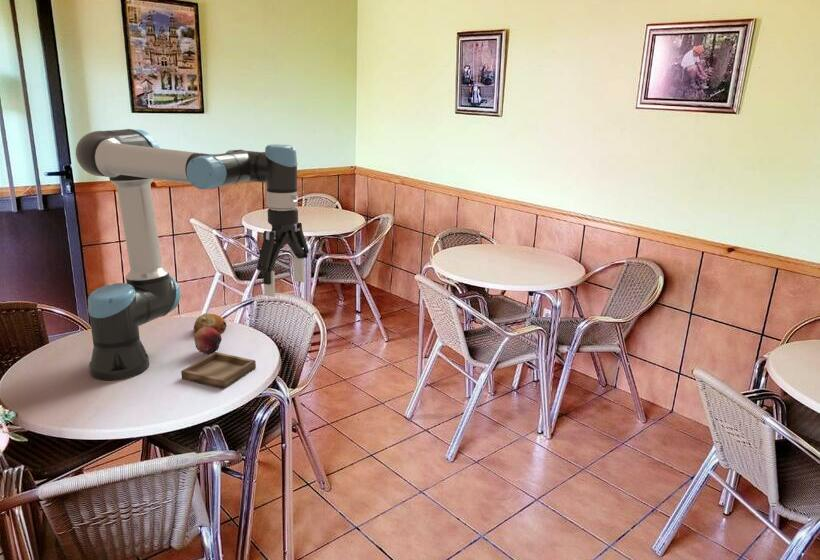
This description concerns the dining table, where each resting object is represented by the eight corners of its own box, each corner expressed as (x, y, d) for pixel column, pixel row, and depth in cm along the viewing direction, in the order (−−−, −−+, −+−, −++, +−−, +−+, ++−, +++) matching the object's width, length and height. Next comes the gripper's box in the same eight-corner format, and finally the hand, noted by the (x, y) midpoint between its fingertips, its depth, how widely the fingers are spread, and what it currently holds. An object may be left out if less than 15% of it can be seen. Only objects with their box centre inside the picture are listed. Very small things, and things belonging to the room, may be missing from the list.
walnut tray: (181, 379, 163) (181, 370, 163) (215, 359, 176) (215, 351, 175) (224, 389, 158) (223, 380, 158) (255, 368, 171) (255, 360, 170)
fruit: (207, 346, 185) (205, 321, 183) (227, 350, 182) (226, 325, 180) (189, 355, 178) (187, 330, 176) (210, 360, 175) (208, 334, 173)
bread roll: (201, 336, 201) (188, 317, 198) (229, 322, 203) (216, 302, 199) (200, 348, 192) (187, 328, 189) (229, 333, 194) (217, 312, 190)
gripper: (266, 218, 138) (269, 304, 144) (321, 202, 160) (321, 277, 167) (239, 214, 141) (243, 299, 147) (296, 199, 163) (298, 274, 169)
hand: (285, 288), depth 157 cm, fingers open, 13 cm apart
